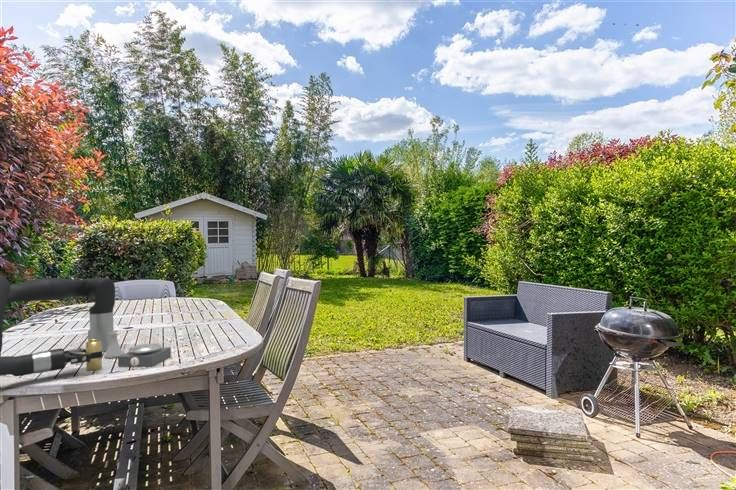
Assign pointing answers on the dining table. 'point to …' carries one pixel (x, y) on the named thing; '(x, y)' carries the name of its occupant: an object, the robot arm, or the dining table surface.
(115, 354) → the flask
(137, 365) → the base
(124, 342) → the dining table surface
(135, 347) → the scale pan
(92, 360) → the brass weight
